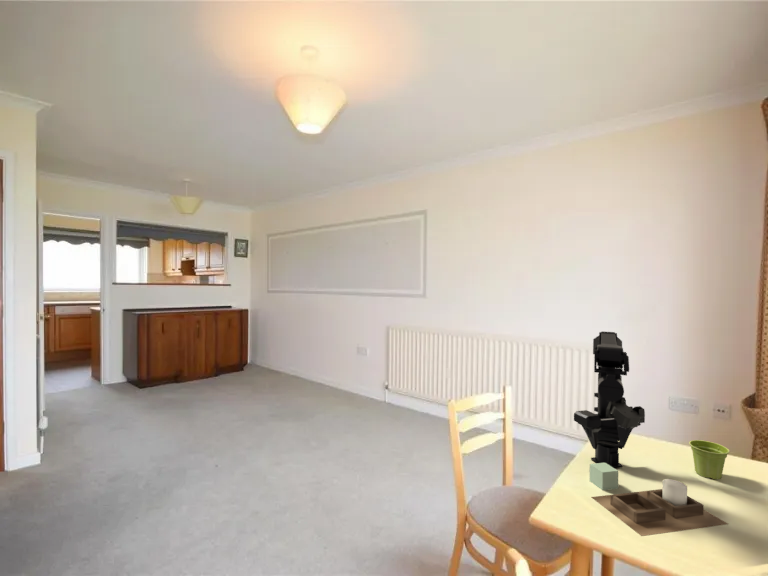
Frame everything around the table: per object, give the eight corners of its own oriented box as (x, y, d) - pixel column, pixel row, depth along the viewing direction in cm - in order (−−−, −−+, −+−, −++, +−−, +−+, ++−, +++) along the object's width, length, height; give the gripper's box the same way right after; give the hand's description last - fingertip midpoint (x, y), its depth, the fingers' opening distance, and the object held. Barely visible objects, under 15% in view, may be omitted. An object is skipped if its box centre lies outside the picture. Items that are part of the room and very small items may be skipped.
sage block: (589, 484, 112) (589, 463, 112) (604, 483, 113) (604, 462, 112) (602, 494, 107) (602, 472, 107) (618, 492, 108) (618, 470, 108)
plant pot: (737, 480, 114) (737, 450, 114) (714, 484, 112) (714, 454, 111) (703, 465, 123) (703, 438, 123) (681, 469, 121) (681, 441, 120)
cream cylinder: (657, 502, 101) (657, 479, 100) (673, 500, 102) (673, 478, 101) (675, 514, 96) (675, 490, 96) (692, 512, 97) (692, 488, 96)
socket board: (591, 500, 103) (591, 487, 103) (667, 491, 108) (667, 479, 108) (641, 540, 88) (641, 524, 87) (728, 528, 92) (728, 513, 92)
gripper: (603, 402, 98) (602, 463, 98) (663, 398, 102) (662, 456, 103) (572, 390, 109) (572, 445, 109) (628, 386, 113) (627, 440, 114)
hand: (608, 447), depth 108 cm, fingers open, 9 cm apart
